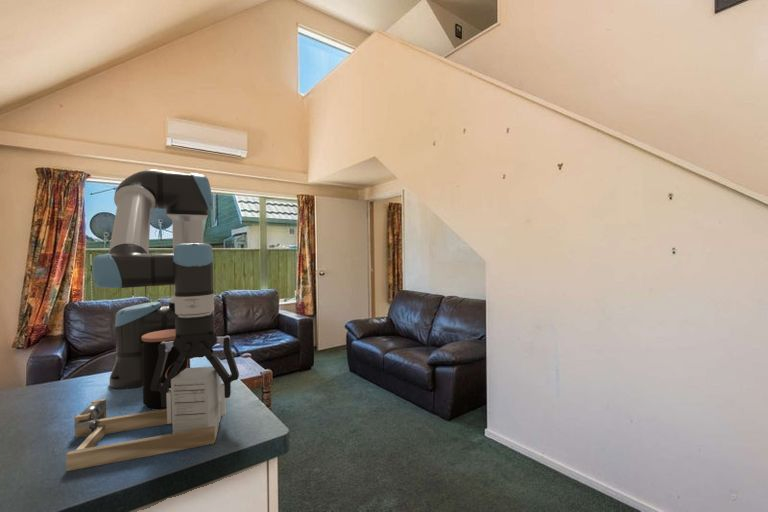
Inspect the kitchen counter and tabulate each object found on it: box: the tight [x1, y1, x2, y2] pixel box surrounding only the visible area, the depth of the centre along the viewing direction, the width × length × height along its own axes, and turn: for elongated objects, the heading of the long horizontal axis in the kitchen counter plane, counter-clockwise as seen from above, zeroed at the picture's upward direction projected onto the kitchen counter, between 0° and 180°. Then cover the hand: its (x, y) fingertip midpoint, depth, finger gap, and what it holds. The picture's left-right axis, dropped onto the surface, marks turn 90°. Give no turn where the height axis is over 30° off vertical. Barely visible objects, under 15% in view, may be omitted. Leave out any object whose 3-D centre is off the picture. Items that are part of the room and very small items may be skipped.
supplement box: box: [171, 366, 222, 433], centre depth 76 cm, size 7×7×13 cm
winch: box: [73, 398, 108, 439], centre depth 77 cm, size 12×5×5 cm, turn 20°
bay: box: [65, 400, 221, 472], centre depth 73 cm, size 14×24×3 cm, turn 110°
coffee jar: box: [142, 329, 191, 410], centre depth 91 cm, size 11×11×18 cm
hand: (197, 416), depth 76 cm, fingers open, 10 cm apart
